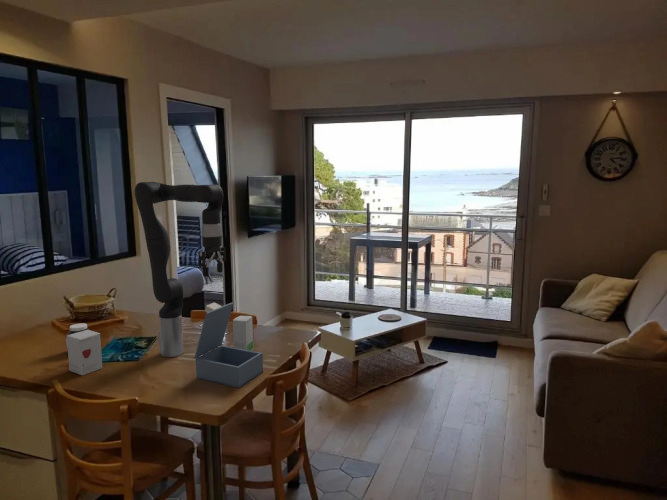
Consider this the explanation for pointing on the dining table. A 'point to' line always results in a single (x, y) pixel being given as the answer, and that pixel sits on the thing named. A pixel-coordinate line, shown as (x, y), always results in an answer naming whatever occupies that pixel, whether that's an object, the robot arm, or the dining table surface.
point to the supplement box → (84, 352)
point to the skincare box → (243, 333)
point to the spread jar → (76, 329)
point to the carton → (229, 366)
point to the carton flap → (213, 328)
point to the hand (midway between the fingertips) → (213, 274)
